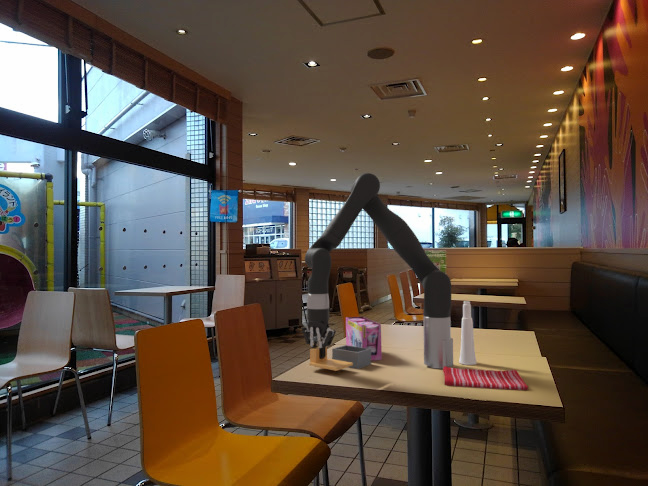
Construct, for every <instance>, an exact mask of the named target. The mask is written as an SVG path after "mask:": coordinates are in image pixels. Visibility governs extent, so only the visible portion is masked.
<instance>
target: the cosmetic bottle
mask: <svg viewBox="0 0 648 486" xmlns="http://www.w3.org/2000/svg"><path fill="white" fill-rule="evenodd" d="M473 324H474V322H473V317H472V305H471V301H470V300H469V301H468V300H467V301H466V300H465V301H463V304H462V318H461V330H460V331H461V333H460V334H461V336H460V337H461V338H460V352H459V360H458V363H459V364H461V365H466V366H474V365H477V364H478V363H477V358H476V351H475V350H476V349H475V341H474V340H475V339H474V336H475V335H474V326H473Z"/></svg>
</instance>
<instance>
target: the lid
mask: <svg viewBox="0 0 648 486" xmlns="http://www.w3.org/2000/svg"><path fill="white" fill-rule="evenodd" d="M319 348H320V347H319V346H318V347H316V348H312V349H311V348H310V349H309V362H308V363H309V364H308V365H309V366H312V367H314V368H318V369H319V368H320V369H324V370H329V371H330V370H331V371H335V372H337V371H340V370H344V369H346V368H350V367H349V366H352V365H353V363H351V362H346V361H340V360H334V359H332V358H328V346H327V347H326V356H325V358H324V359H320V358H319Z"/></svg>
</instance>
